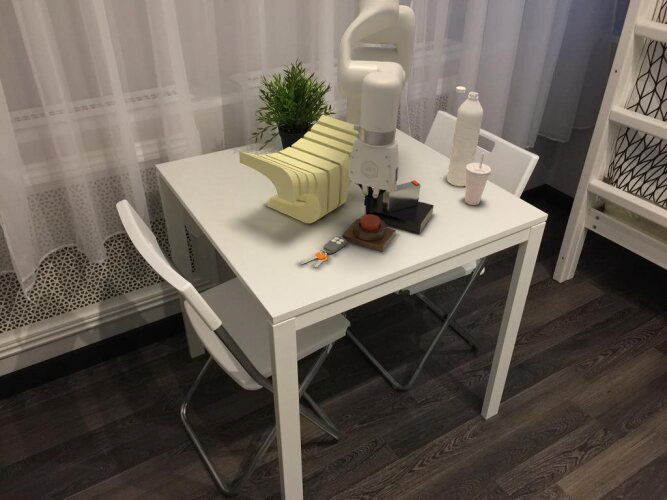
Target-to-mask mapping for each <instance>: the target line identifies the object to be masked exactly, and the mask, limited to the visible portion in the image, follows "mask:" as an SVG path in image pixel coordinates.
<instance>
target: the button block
mask: <svg viewBox="0 0 667 500" xmlns="http://www.w3.org/2000/svg"><path fill="white" fill-rule="evenodd" d="M360 224H361V217H359V218H357V219H355V220H354V222H353V223H352V224H351V225H350V226H349V227H348V228H347V229H346V231H345V232H344V233H343V234H342V238H344V239H346V240H347V243H350V244H353V245H354V244H355V245H358V246H360V247H365V248H367V249H371V250H375V251H378V252H382V253H383V252H384V251H385V250H386V248H387V247H388V245H389V244H390V242H391V241H392V240H393V239H394V238H395V236H396V229H395V228H391V227H388V226H387V225H386V224H385V222H383V221H382V220H381V219H380V227H379V229H378V230H375V231H367V230H364V229H362V228H361V227H360Z"/></svg>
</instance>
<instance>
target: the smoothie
mask: <svg viewBox="0 0 667 500" xmlns="http://www.w3.org/2000/svg"><path fill="white" fill-rule="evenodd" d="M484 155H485V152H484V151H483V152H481V155H480V160H479V162H474V163H469V164H467V165H466V168H465V171H466V186H465V191H464V202H465V203H466V204H467V205H471V206H477V205H479V204H480V202H481V199H482V196H483V193H484V191H485V188H486V184H487V183H488V179H489V176H490V175H491V174H492V168H491V166H489V165H487V164H485V163H483V161H484V157H485V156H484Z"/></svg>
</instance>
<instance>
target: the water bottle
mask: <svg viewBox="0 0 667 500" xmlns="http://www.w3.org/2000/svg"><path fill="white" fill-rule="evenodd" d="M466 90H467V89H466V87H465V86H456V88H455V92H456V93H458V94H465V93H466ZM483 118H484V109H483V107H482V105H481V103H480V100H479V93H478V92H476V91H469V93H468V95H467V98H466V99H465V100H464V101H463V102H462V104H461V105H460V106H459V107H458V109H457V112H456V120H455V121H456V122H455V125H454V126H455V127H454V134H453V138H452V145H451V152H450V158H449V164H448V170H447V175H446V181H447V183H448V184H451V185H452V186H455V187H464V186H465V187H466V171H465V168H466V165H467V164H469V163H475V159H476V154H477V148H478V144H479V139H480V138H479V137H480V132H481V127H482V121H483Z"/></svg>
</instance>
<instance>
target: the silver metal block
mask: <svg viewBox="0 0 667 500" xmlns="http://www.w3.org/2000/svg"><path fill="white" fill-rule="evenodd" d="M396 185H397V190H396V191H395V192H393V193H391V192H385V193H384V194H383V205H382V209H383V210H384V211H386V212H387V213H390V212H393V211H397V210H401V209H405V208H409V207H412V206H416V205H418V201H419V202H420V192H421V184H420V183H419V182H418V181H417V180H415V179H414V180H411V181H408V182H404V183H399V184H396Z"/></svg>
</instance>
